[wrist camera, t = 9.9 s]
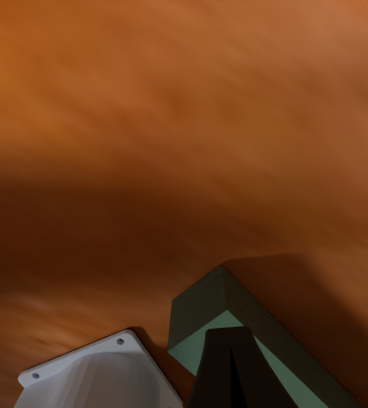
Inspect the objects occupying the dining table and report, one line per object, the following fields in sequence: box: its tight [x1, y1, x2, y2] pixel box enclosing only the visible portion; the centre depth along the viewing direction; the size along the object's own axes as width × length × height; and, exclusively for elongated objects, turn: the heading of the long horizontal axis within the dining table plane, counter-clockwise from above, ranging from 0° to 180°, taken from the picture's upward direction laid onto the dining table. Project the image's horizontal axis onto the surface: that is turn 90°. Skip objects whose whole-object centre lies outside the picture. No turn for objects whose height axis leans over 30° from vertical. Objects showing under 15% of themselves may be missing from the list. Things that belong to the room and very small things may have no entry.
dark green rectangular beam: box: [167, 264, 361, 408], centre depth 20 cm, size 16×4×5 cm, turn 42°
